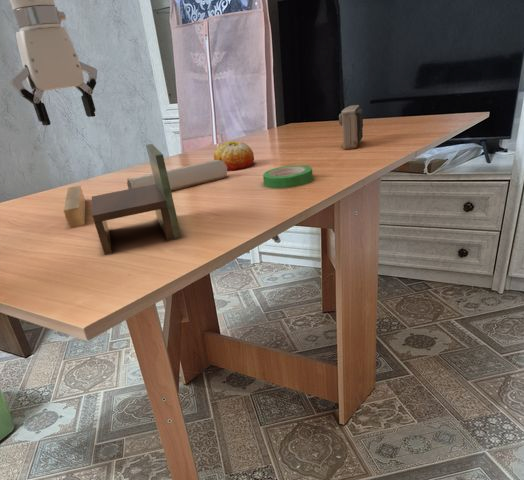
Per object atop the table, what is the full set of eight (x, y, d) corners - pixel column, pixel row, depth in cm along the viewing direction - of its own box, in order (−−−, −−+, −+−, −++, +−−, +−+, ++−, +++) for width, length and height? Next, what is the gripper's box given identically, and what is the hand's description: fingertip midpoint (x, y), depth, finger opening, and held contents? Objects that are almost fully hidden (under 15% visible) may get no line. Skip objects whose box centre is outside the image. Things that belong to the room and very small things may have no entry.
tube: (219, 159, 120) (125, 180, 111) (226, 154, 115) (129, 175, 106) (225, 181, 121) (132, 203, 112) (233, 176, 116) (137, 199, 107)
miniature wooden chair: (105, 256, 78) (77, 170, 71) (103, 232, 91) (79, 156, 83) (182, 239, 81) (162, 154, 74) (169, 218, 93) (152, 143, 86)
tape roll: (286, 192, 100) (285, 179, 98) (254, 186, 107) (253, 174, 106) (323, 179, 105) (322, 167, 104) (290, 175, 113) (289, 163, 111)
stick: (70, 229, 96) (63, 210, 94) (73, 204, 115) (67, 187, 113) (85, 226, 96) (78, 207, 94) (85, 201, 116) (80, 185, 114)
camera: (345, 142, 140) (344, 105, 134) (365, 141, 138) (365, 103, 132) (338, 150, 131) (337, 111, 125) (359, 149, 129) (359, 109, 124)
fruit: (207, 172, 126) (205, 140, 124) (227, 174, 135) (226, 144, 133) (243, 170, 121) (242, 136, 119) (261, 172, 130) (261, 141, 128)
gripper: (74, 20, 95) (100, 113, 104) (-15, 27, 86) (22, 128, 95) (89, 14, 90) (115, 113, 99) (-4, 21, 81) (34, 128, 90)
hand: (69, 120), depth 97 cm, fingers open, 9 cm apart
